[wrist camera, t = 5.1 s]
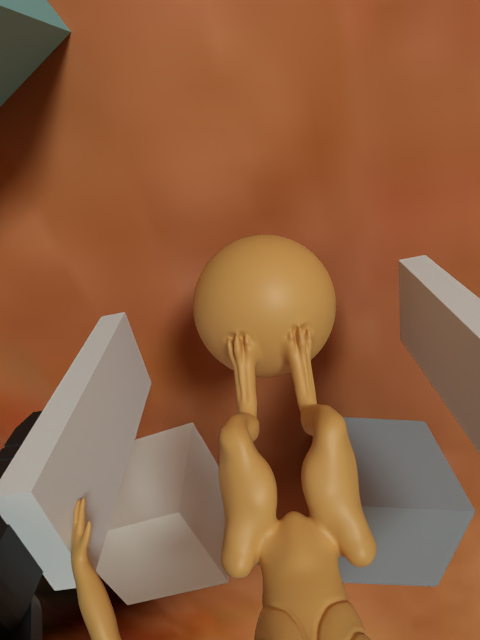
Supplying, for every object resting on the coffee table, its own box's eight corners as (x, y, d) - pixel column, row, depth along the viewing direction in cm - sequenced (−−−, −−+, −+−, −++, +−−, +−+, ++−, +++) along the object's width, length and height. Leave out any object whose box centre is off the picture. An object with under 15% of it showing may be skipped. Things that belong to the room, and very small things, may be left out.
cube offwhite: (149, 508, 23) (127, 605, 19) (103, 448, 21) (66, 541, 17) (231, 486, 22) (228, 582, 18) (192, 421, 20) (178, 511, 16)
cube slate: (307, 486, 22) (323, 581, 18) (322, 415, 20) (344, 505, 15) (398, 490, 22) (437, 586, 18) (424, 420, 20) (475, 511, 16)
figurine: (390, 200, 12) (1379, 817, 2) (384, 366, 15) (741, 990, 4) (118, 237, 13) (-462, 926, 2) (161, 392, 15) (7, 1021, 5)
